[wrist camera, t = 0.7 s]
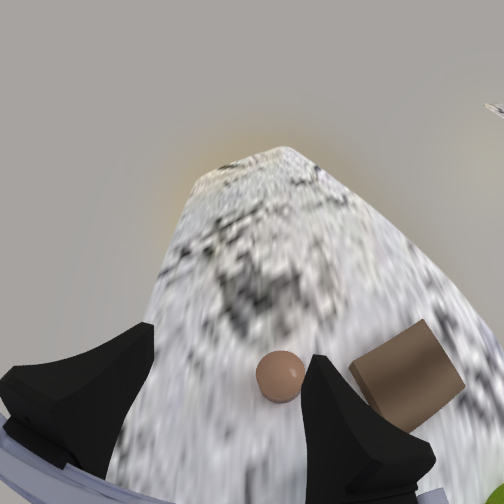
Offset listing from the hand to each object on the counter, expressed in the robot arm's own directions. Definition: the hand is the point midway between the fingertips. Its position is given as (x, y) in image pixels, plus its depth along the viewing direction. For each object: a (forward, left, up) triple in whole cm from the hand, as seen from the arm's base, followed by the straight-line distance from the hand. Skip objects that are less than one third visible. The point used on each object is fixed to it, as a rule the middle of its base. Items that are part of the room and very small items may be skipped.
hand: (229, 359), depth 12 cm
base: (-5, -14, -15) cm, 21 cm away
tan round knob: (+1, -3, -15) cm, 15 cm away
